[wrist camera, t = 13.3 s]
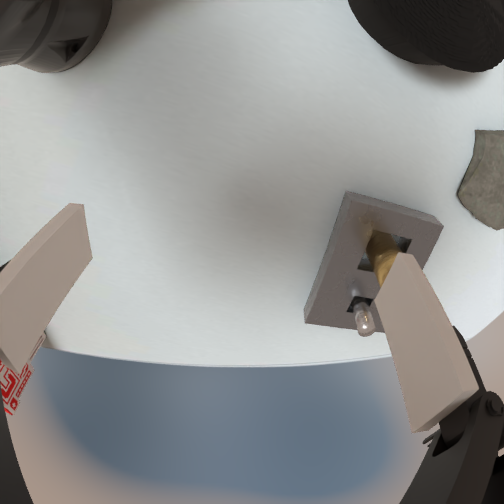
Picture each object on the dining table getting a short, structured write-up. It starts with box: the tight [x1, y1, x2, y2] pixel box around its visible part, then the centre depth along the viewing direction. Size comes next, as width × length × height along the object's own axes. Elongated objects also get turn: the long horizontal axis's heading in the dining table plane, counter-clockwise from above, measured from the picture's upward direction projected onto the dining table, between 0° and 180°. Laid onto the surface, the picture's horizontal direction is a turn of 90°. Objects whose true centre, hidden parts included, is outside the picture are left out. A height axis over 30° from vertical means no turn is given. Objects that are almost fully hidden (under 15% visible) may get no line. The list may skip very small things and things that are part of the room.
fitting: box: [365, 230, 402, 288], centre depth 33 cm, size 4×4×12 cm
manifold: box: [304, 191, 444, 337], centre depth 36 cm, size 20×14×8 cm
